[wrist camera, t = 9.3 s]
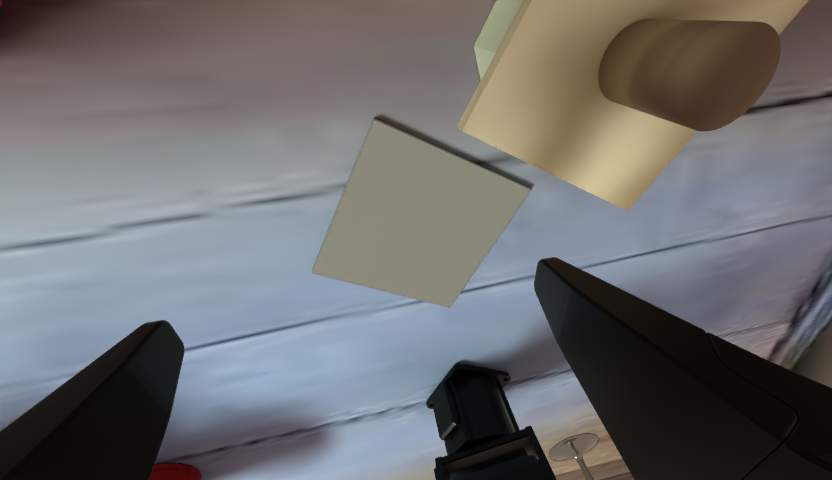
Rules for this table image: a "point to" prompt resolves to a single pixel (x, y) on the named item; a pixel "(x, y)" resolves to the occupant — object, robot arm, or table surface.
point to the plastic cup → (174, 472)
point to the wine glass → (575, 450)
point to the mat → (415, 218)
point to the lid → (623, 84)
